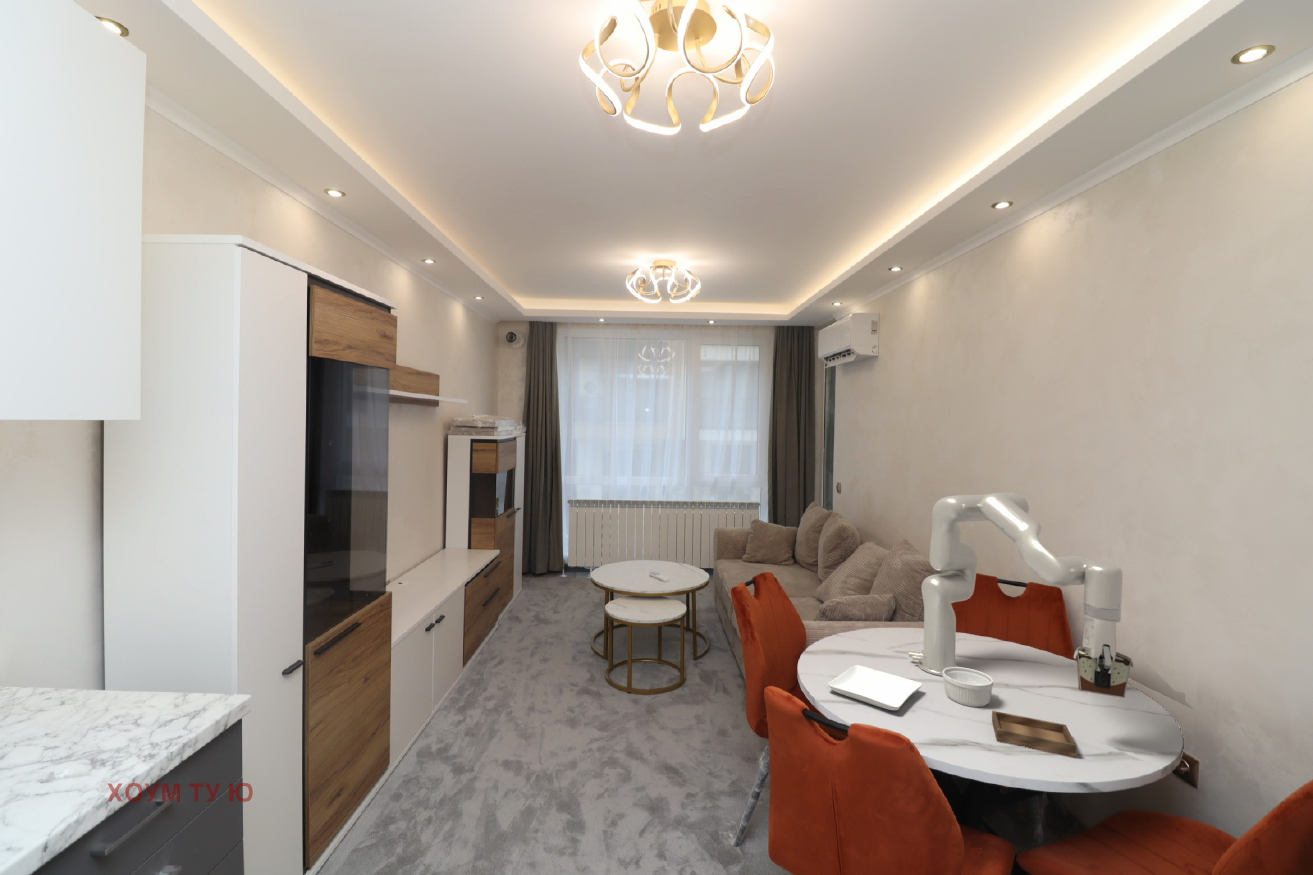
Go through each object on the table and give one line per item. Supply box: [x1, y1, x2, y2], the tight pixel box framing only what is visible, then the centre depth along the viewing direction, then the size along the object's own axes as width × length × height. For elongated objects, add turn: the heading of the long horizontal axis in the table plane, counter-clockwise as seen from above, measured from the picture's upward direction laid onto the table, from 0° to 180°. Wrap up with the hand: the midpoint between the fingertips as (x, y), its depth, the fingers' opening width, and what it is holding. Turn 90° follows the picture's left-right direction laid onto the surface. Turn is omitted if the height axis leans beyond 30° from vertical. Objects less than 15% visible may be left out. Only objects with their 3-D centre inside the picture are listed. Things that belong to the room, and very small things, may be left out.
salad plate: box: [827, 664, 923, 711], centre depth 170 cm, size 21×21×3 cm
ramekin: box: [942, 666, 994, 708], centre depth 168 cm, size 13×13×7 cm
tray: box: [991, 710, 1077, 759], centre depth 145 cm, size 17×11×3 cm
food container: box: [1073, 646, 1135, 699], centre depth 145 cm, size 12×6×10 cm, turn 71°
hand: (1098, 681), depth 145 cm, fingers closed on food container, 5 cm apart
